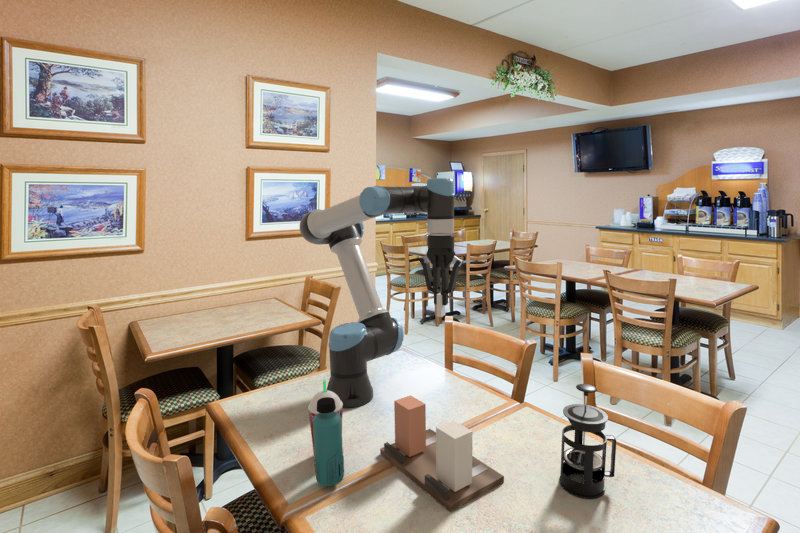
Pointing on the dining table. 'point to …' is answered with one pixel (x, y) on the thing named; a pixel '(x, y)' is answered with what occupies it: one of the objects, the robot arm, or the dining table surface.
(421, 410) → the key
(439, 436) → the key
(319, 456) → the beverage bottle
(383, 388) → the dining table surface
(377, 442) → the dining table surface
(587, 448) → the french press
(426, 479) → the board
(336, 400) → the smoothie
